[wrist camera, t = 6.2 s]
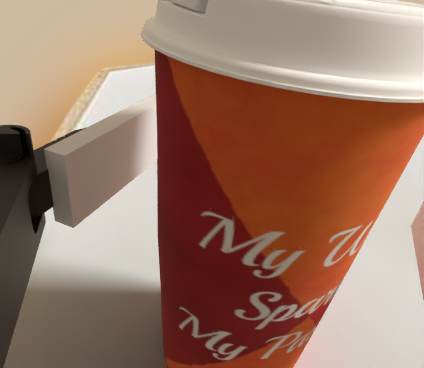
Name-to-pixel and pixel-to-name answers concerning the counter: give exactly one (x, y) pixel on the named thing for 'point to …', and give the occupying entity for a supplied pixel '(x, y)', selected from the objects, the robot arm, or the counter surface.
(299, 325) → the paper cup
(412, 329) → the counter surface
